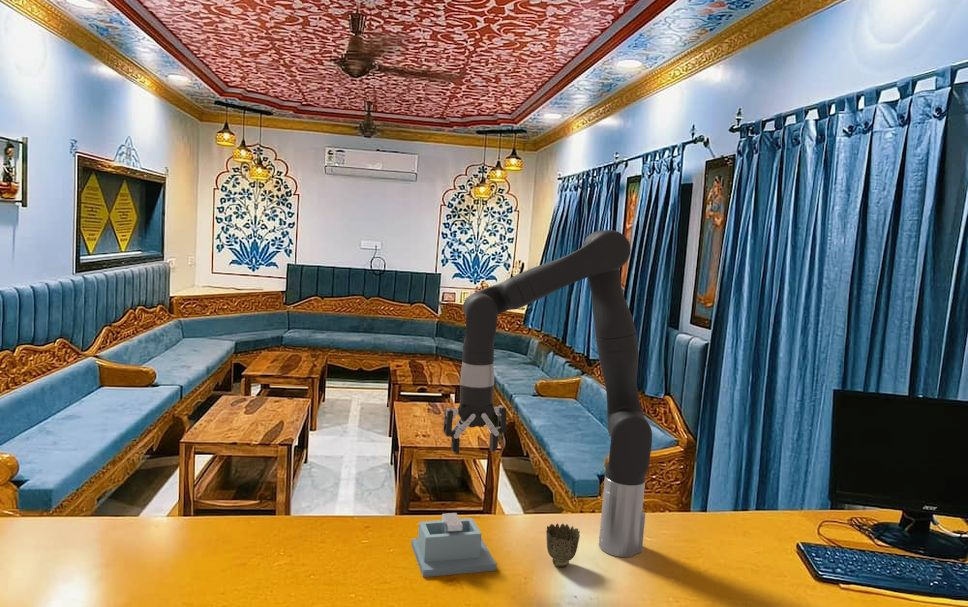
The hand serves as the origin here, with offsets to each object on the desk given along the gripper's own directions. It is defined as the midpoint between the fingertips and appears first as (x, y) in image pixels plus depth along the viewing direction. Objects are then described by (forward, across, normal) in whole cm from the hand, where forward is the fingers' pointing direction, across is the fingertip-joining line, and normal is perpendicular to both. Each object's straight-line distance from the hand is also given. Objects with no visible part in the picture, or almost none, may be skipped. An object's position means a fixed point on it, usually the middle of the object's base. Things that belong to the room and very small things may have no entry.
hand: (474, 452), depth 146 cm
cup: (+23, -17, +12) cm, 31 cm away
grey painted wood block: (+21, +6, +5) cm, 22 cm away
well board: (+22, +6, +4) cm, 23 cm away
